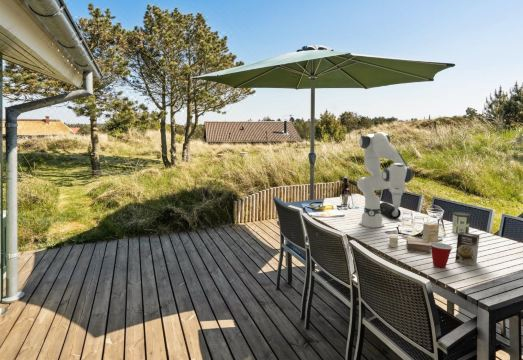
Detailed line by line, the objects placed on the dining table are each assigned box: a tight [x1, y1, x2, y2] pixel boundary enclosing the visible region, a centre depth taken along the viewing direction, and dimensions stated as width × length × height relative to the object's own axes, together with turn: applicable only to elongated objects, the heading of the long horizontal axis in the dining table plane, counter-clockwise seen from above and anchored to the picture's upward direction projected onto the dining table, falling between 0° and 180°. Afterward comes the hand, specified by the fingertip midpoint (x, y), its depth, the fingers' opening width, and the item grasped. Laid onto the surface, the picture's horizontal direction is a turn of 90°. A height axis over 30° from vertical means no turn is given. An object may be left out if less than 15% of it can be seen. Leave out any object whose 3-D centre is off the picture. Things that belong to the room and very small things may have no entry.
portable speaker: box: [380, 201, 402, 219], centre depth 265 cm, size 26×10×10 cm, turn 2°
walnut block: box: [406, 236, 431, 254], centre depth 187 cm, size 12×12×5 cm
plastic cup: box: [430, 242, 454, 269], centre depth 161 cm, size 11×11×12 cm
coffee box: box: [455, 232, 480, 267], centre depth 165 cm, size 9×6×16 cm
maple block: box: [388, 234, 399, 248], centre depth 192 cm, size 5×5×6 cm
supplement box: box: [422, 222, 440, 244], centre depth 195 cm, size 8×5×13 cm, turn 105°
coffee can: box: [451, 211, 471, 235], centre depth 215 cm, size 10×10×14 cm
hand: (396, 210), depth 189 cm, fingers open, 8 cm apart
